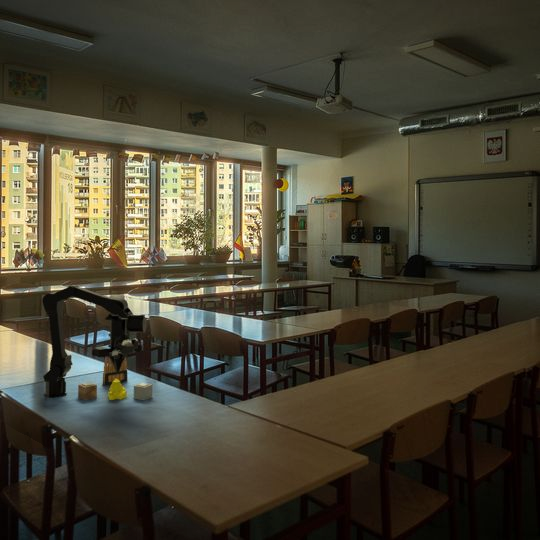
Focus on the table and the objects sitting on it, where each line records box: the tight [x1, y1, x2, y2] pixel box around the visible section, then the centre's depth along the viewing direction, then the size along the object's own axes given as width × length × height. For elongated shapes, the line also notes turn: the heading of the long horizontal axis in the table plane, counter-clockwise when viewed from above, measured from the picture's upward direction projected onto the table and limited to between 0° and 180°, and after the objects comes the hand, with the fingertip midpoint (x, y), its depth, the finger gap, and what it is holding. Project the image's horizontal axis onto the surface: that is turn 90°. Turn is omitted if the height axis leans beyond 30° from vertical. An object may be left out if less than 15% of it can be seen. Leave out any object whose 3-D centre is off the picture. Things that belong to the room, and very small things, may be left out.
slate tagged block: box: [133, 382, 153, 401], centre depth 203 cm, size 5×5×5 cm
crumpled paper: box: [107, 379, 128, 401], centre depth 203 cm, size 6×8×8 cm
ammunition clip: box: [101, 356, 128, 387], centre depth 222 cm, size 11×2×12 cm, turn 135°
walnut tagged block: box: [77, 382, 98, 401], centre depth 202 cm, size 5×5×5 cm
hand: (117, 371), depth 203 cm, fingers closed
